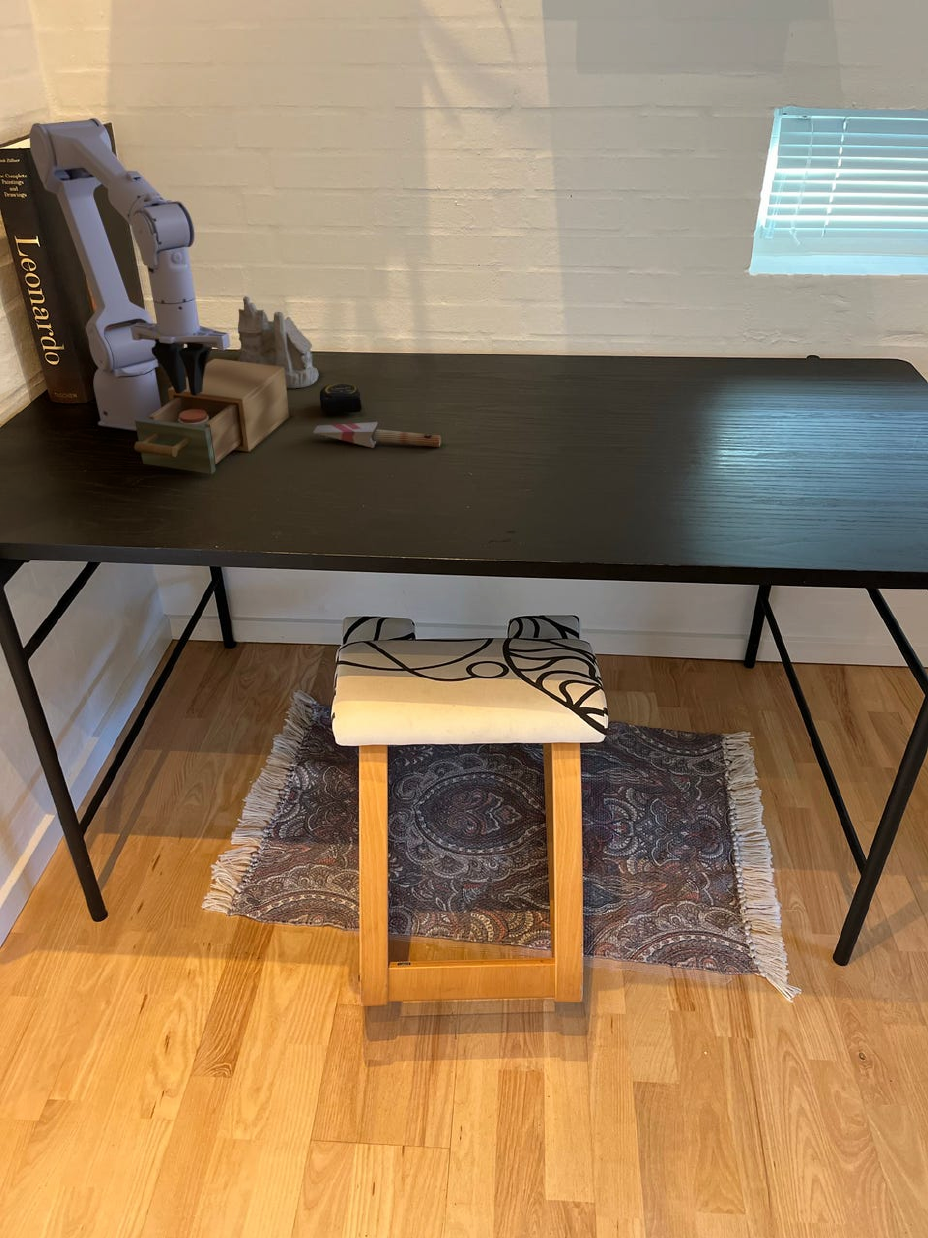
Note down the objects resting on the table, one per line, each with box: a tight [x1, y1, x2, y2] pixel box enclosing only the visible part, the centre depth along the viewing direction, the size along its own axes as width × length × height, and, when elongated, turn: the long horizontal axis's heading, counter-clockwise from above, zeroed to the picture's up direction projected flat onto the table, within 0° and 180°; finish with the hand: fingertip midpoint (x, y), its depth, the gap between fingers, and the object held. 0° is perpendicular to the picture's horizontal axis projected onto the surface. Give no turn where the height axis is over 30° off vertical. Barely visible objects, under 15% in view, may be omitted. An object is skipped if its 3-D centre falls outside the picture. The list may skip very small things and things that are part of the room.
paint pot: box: [178, 409, 209, 427], centre depth 143 cm, size 4×4×5 cm
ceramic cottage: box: [237, 296, 319, 389], centre depth 172 cm, size 16×16×15 cm
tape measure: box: [319, 382, 363, 415], centre depth 160 cm, size 7×7×4 cm
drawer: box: [134, 396, 243, 475], centre depth 141 cm, size 18×11×7 cm, turn 164°
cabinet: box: [167, 358, 290, 453], centre depth 152 cm, size 15×13×9 cm
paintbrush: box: [312, 421, 442, 449], centre depth 149 cm, size 4×3×20 cm
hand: (189, 392), depth 139 cm, fingers closed
